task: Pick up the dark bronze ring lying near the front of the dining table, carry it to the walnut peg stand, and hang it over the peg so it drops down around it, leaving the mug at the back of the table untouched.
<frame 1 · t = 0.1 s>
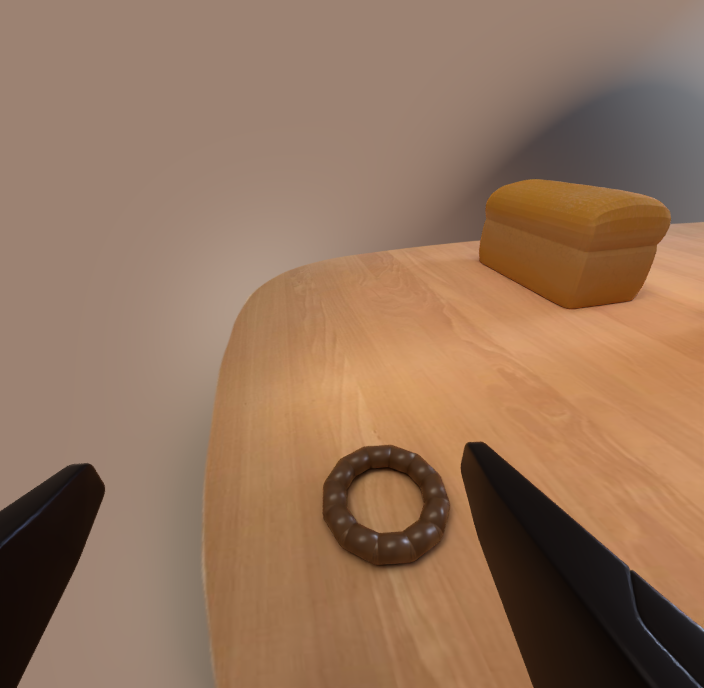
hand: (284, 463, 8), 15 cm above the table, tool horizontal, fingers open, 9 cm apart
bread: (544, 278, 60), on the table
ring: (384, 496, 23), point 1 cm above the table
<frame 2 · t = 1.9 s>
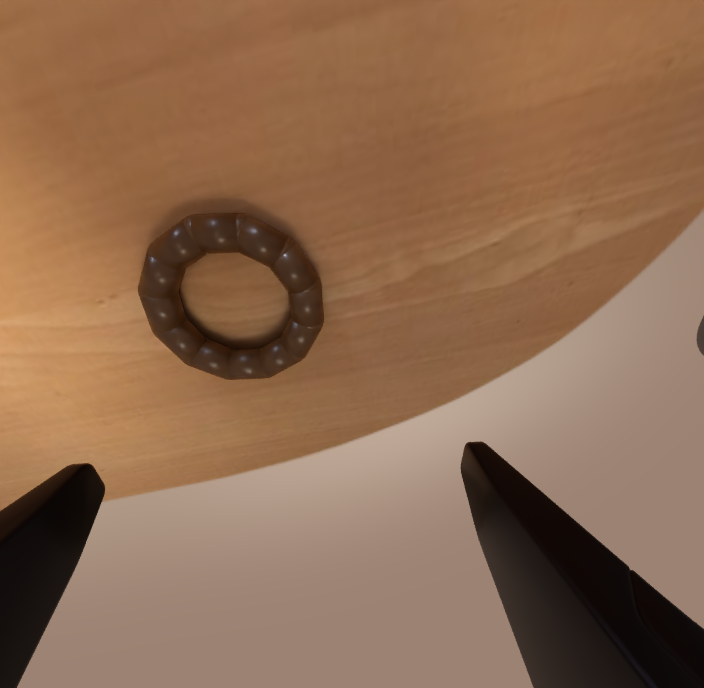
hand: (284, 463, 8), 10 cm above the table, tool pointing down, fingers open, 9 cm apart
ring: (235, 305, 16), point 1 cm above the table
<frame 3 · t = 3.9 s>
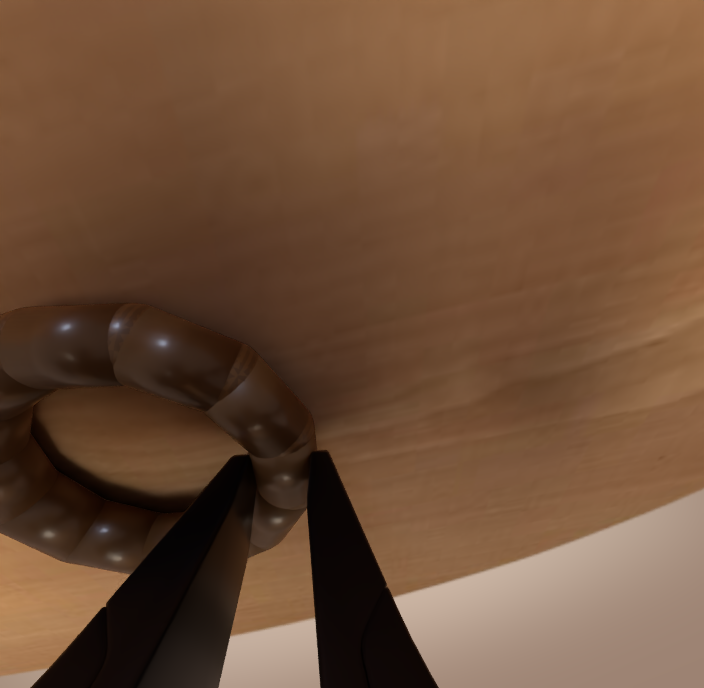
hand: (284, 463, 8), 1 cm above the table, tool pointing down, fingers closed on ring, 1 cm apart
ring: (145, 464, 8), point 1 cm above the table, touching gripper
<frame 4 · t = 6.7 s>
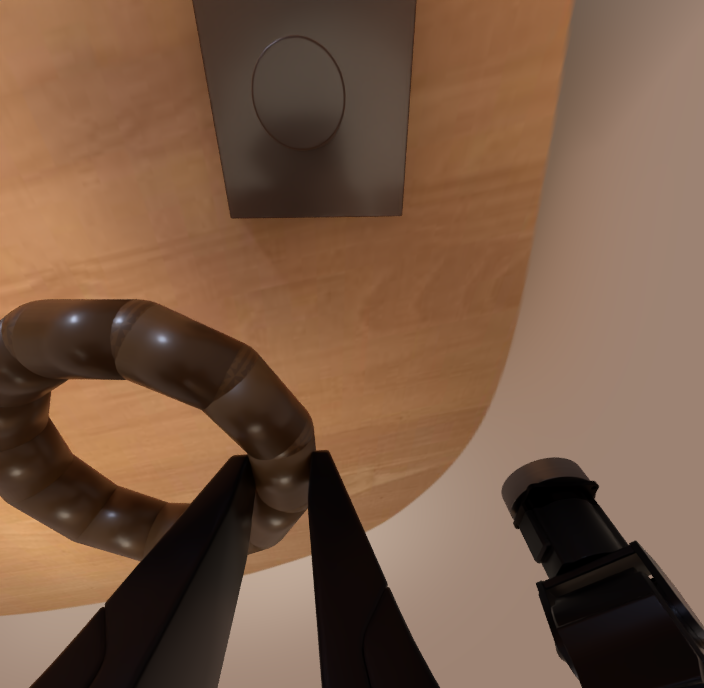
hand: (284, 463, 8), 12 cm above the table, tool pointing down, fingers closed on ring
stand: (313, 116, 15), on the table
ring: (151, 455, 9), point 12 cm above the table, tilted 5°, touching gripper
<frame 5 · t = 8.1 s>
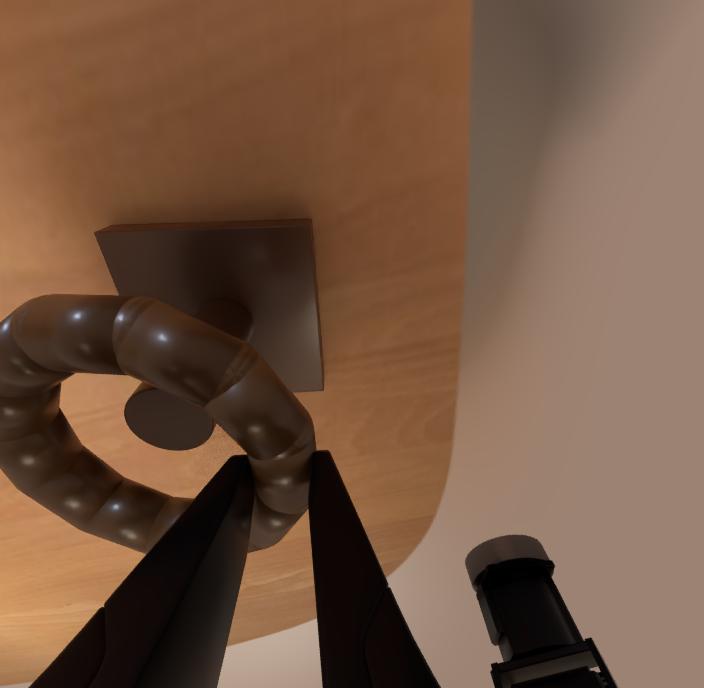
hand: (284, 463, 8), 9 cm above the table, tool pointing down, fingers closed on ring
stand: (232, 311, 16), on the table
ring: (154, 450, 9), point 8 cm above the table, tilted 9°, touching gripper
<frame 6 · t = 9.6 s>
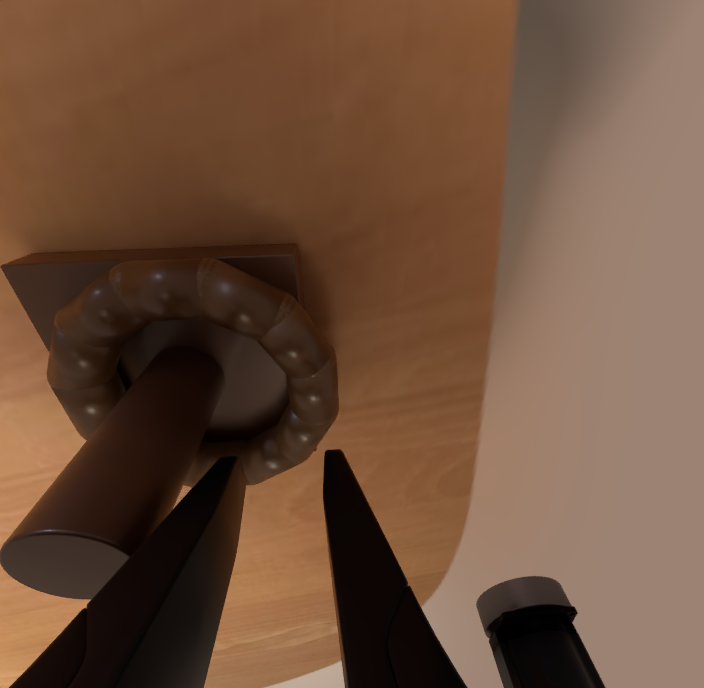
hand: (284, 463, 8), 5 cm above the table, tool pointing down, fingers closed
stand: (199, 357, 12), on the table
ring: (205, 390, 11), point 2 cm above the table, touching stand
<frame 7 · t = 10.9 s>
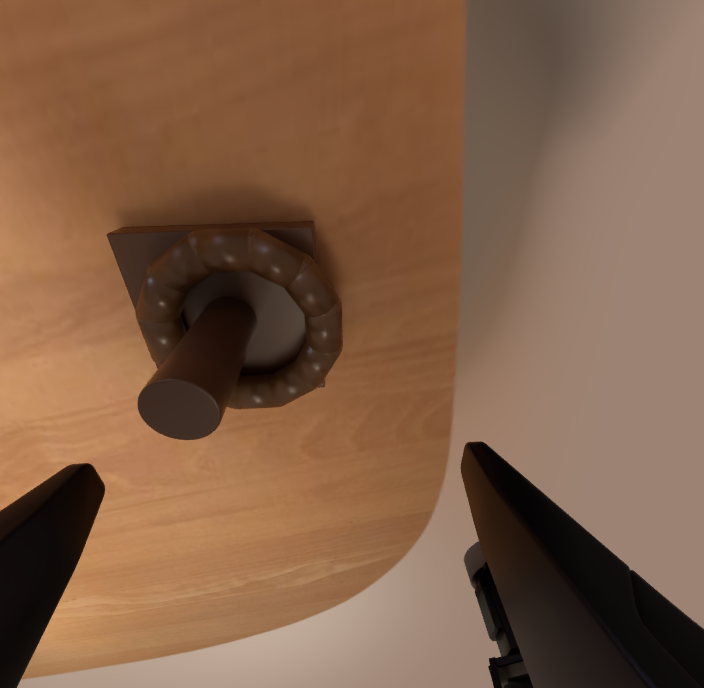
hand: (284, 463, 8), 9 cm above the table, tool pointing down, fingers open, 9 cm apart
stand: (237, 310, 16), on the table
ring: (245, 329, 15), point 2 cm above the table, touching stand
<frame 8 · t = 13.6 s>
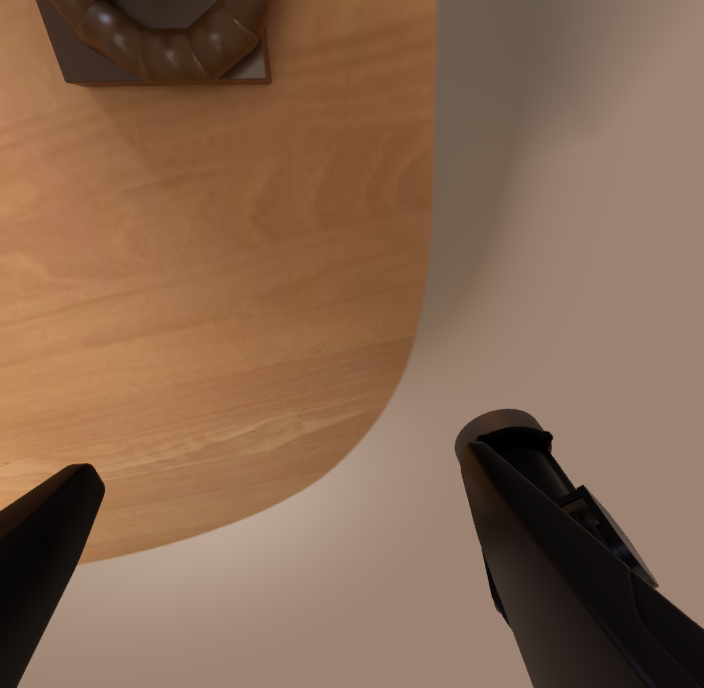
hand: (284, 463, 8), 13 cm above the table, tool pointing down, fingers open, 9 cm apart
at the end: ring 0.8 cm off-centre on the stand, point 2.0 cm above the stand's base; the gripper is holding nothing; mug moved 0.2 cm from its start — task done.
